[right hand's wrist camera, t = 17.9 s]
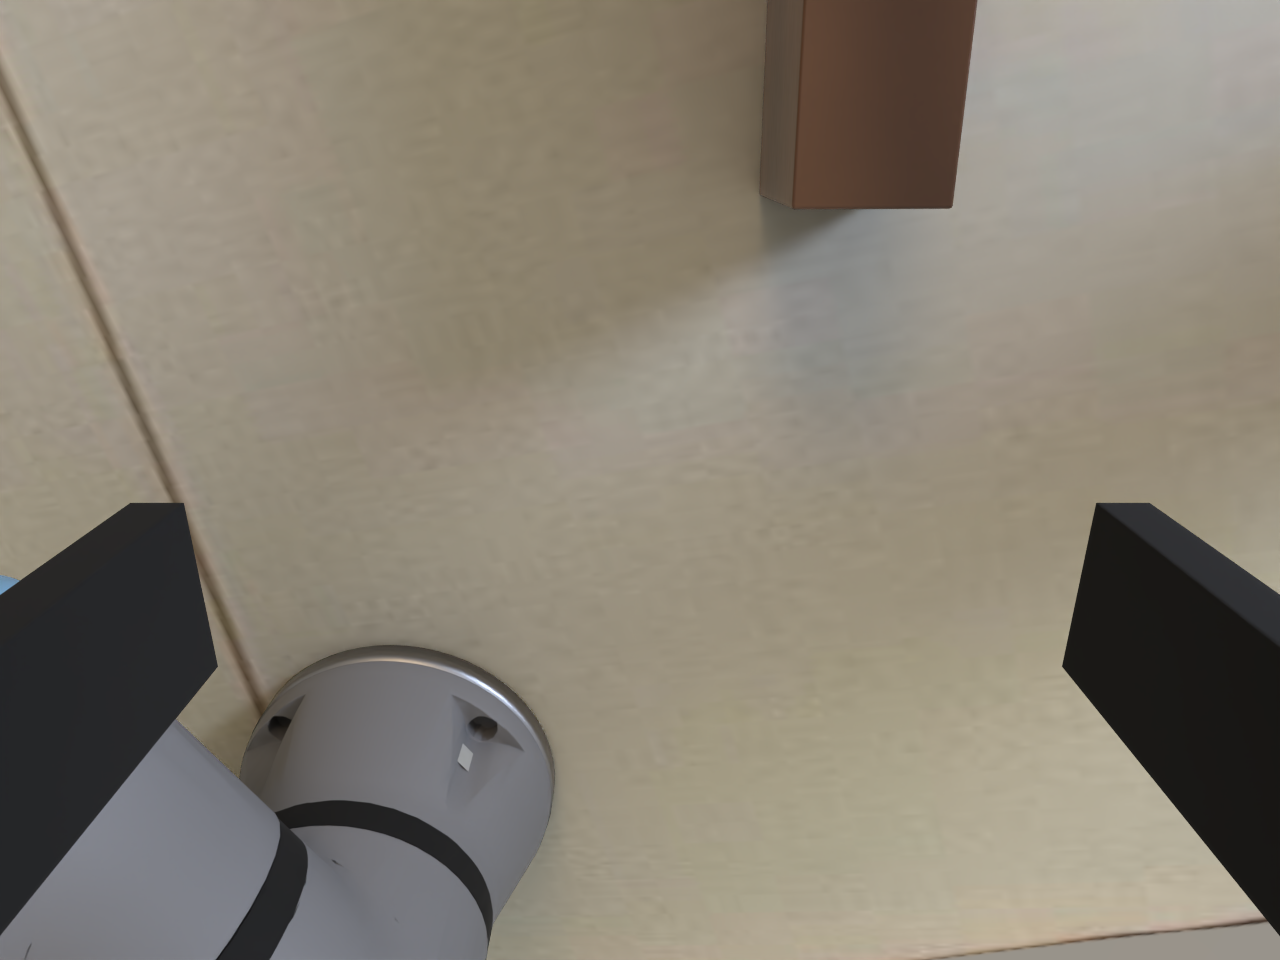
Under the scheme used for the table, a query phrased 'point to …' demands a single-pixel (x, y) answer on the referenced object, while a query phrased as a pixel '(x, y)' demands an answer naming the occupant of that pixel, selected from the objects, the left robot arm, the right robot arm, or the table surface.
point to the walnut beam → (864, 102)
